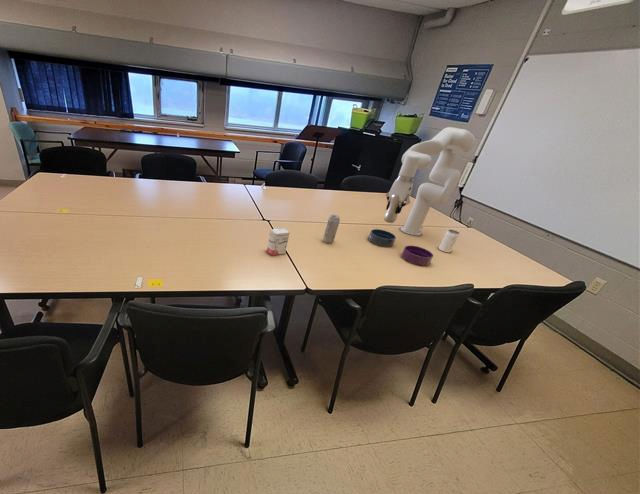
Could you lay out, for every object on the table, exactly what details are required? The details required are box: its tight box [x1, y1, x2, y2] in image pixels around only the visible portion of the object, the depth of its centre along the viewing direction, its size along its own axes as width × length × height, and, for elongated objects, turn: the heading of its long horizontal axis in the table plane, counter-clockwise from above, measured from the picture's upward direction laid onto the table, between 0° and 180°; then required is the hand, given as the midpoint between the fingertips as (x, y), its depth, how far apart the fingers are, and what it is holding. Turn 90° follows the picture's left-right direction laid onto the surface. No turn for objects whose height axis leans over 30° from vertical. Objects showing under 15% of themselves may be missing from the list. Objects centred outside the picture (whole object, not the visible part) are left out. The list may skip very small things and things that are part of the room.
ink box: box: [266, 227, 290, 256], centre depth 156 cm, size 9×5×12 cm, turn 117°
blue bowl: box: [367, 228, 397, 248], centre depth 186 cm, size 14×14×5 cm
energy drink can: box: [322, 214, 341, 244], centre depth 174 cm, size 6×6×15 cm
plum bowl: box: [401, 245, 434, 266], centre depth 170 cm, size 14×14×5 cm
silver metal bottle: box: [383, 193, 400, 224], centre depth 175 cm, size 6×7×20 cm
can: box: [438, 229, 460, 253], centre depth 185 cm, size 6×6×12 cm
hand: (392, 211), depth 177 cm, fingers closed on silver metal bottle, 5 cm apart
